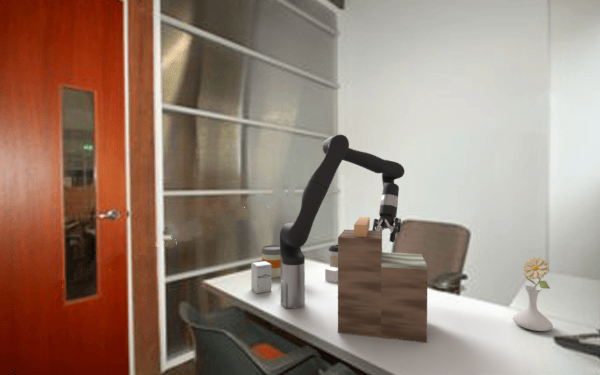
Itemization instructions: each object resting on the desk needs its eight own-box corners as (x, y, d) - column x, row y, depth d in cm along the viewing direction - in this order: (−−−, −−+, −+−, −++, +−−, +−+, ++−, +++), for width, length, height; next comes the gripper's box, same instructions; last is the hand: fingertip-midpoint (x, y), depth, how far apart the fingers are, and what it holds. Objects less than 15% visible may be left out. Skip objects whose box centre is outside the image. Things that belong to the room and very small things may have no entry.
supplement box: (256, 294, 151) (256, 265, 150) (251, 289, 157) (251, 262, 157) (271, 291, 154) (271, 264, 154) (265, 286, 161) (265, 260, 160)
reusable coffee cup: (276, 270, 189) (275, 244, 189) (289, 275, 180) (289, 247, 179) (257, 274, 181) (256, 247, 181) (270, 280, 172) (270, 250, 171)
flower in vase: (505, 320, 122) (506, 251, 122) (537, 320, 122) (538, 251, 121) (529, 336, 109) (530, 260, 109) (565, 337, 109) (566, 260, 108)
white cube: (325, 280, 170) (325, 269, 170) (331, 278, 175) (331, 266, 175) (335, 283, 167) (335, 271, 166) (341, 280, 171) (341, 268, 171)
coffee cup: (340, 276, 179) (340, 247, 178) (325, 273, 183) (325, 246, 183) (347, 272, 186) (347, 245, 186) (333, 269, 191) (333, 243, 191)
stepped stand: (344, 312, 130) (344, 229, 129) (421, 319, 123) (421, 232, 122) (337, 332, 112) (337, 237, 111) (426, 342, 105) (427, 241, 104)
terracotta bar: (359, 226, 136) (359, 217, 136) (369, 227, 135) (369, 217, 135) (354, 236, 113) (354, 224, 113) (366, 236, 112) (366, 225, 112)
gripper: (371, 205, 156) (366, 239, 151) (395, 202, 144) (390, 240, 139) (382, 209, 159) (378, 243, 155) (407, 207, 147) (402, 244, 143)
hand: (384, 241), depth 147 cm, fingers open, 8 cm apart
